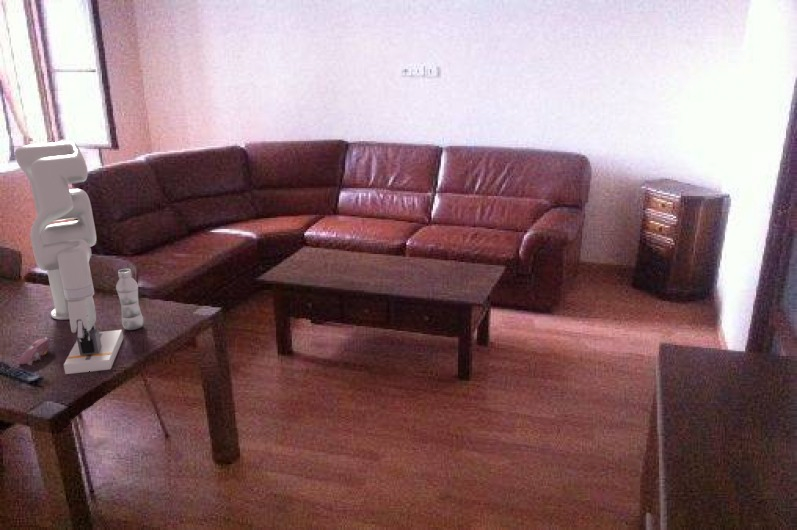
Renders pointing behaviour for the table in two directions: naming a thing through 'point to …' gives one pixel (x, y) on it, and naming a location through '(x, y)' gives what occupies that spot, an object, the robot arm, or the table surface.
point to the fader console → (98, 360)
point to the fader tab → (96, 341)
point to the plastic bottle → (129, 300)
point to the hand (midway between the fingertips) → (90, 348)
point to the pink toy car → (36, 350)
